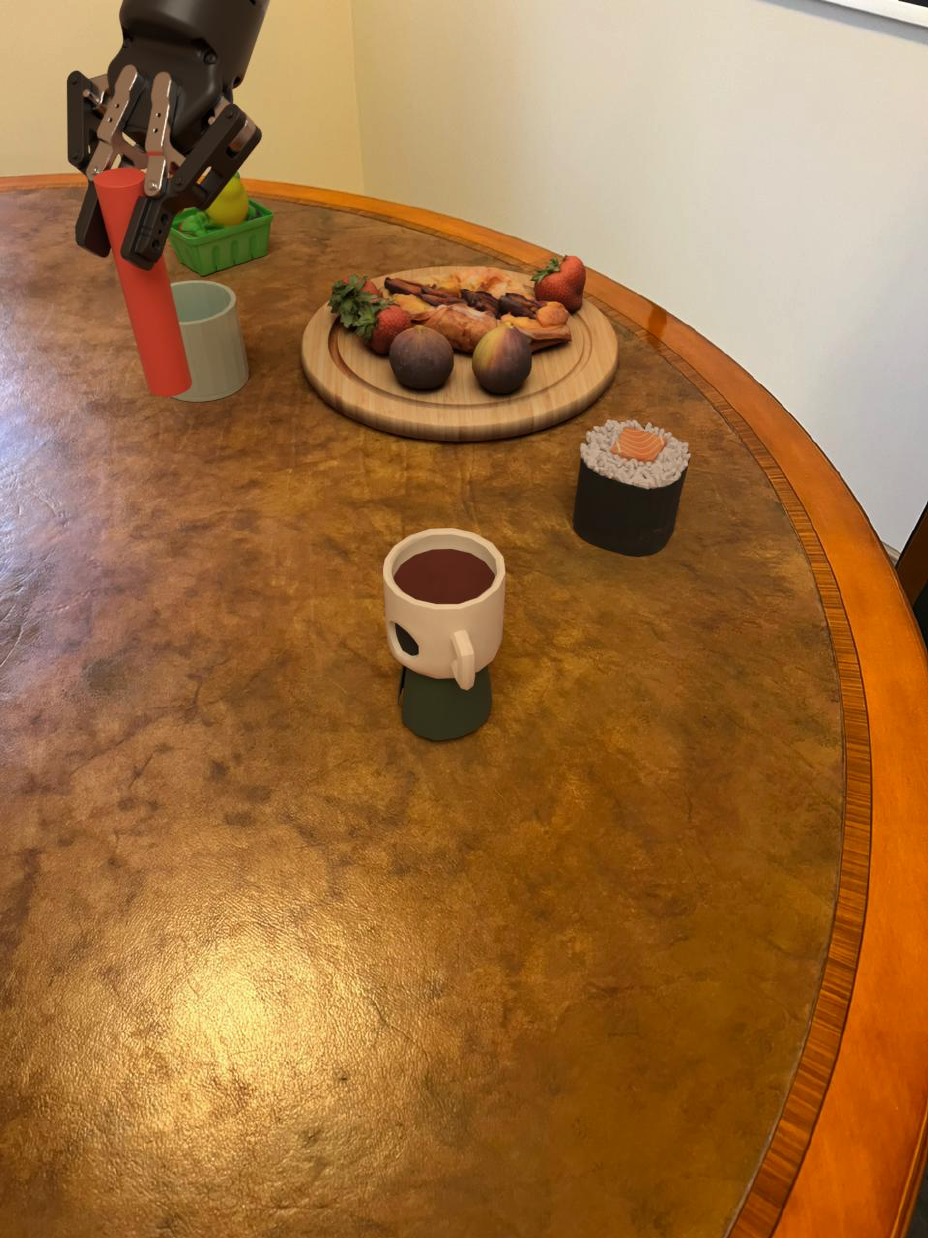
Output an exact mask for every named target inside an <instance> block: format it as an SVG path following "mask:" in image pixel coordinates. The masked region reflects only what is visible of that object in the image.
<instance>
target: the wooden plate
mask: <svg viewBox="0 0 928 1238" xmlns="http://www.w3.org/2000/svg"><path fill="white" fill-rule="evenodd" d="M549 261H551V262H550V263H549V262H546V261H544V264H545V265H546V266H545V268H543V269H541V270H540V269H535V268H533V271H535V272H537V273H536V274H534V275H530V274H527V273H522V272H518V271H513V270H507V269H502V268H500V267H494V266H489V267H487V266H485V265H477V266H469V265H468V266H467V265H466V266H464V265H447V266H445V265H443V266H431V267H430V266H429V267H421V268H420V267H419V268H412V269H406V270H401V271H397V272H391V273H388V274H385V275H381V276H377V277H374V278H371V279H369V278H370V275H364V276H363V277H360V276H359V275H357V274H355V273H353V274H351V275H348V276H345V277H343V278H342V279H340V280H339V281H338V280H335V283H334V284H333V286H331V287H330V288H331V295H330V297H328V300H327V301H326V302H325V303H323V305H322V306H321V307H319V309H318V310H316V312H315V313H314V314H313V315H312V317H311V318H310V319H309V320H308V323H307V325H306V327H305V328H304V330H303V332H302V335H301V339H300V345H299V356H300V363H301V366H302V370H303V372H304V375H305V377H306V379H307V381H308V382H309V384H310V386H311V387H312V388H313V389H314V391H315V392H316V393H317V394H318V396H319V397H320V398H322V399H323V400H324V401H325V402H326V403H327V404H328V405H329V406H331V407H332V408H334V409H335V410H336V411H338V412H340V413H341V414H343V415H344V416H346V417H349V418H350V419H353V420H355V421H356V422H359V423H361V424H364V425H366V426H368V427H371V428H373V429H376V430H378V431H382V432H383V431H384V432H386V433H390V434H394V435H397V436H403V437H407V438H408V437H409V438H412V439H413V438H414V439H420V440H430V441H436V442H438V441H439V442H458V443H459V442H481V441H482V442H483V441H485V442H486V441H492V440H493V441H494V440H499V439H508V438H513V437H514V438H515V437H518V436H522V435H527V434H532V433H535V432H538V431H541V430H544V429H547V428H550V427H553V426H556V425H558V424H560V423H562V422H566V421H567V420H569V419H571V418H573V417H575V416H577V415H579V414H580V413H583V411H585V410H586V409H587V408H589V407H590V406H591V405H593V403H595V402H596V401H597V400H598V399H599V398H600V397H601V396H602V395H603V394H604V393H605V391H606V390H607V389H608V388H609V386H610V385H611V384H612V381H613V380H614V378H615V376H616V374H617V371H618V368H619V363H620V355H621V354H620V344H619V340H618V337H617V333H616V331H615V329H614V327H613V326H612V325H611V322H610V321H609V319H608V318H607V317H606V316H605V315H604V313H602V311H600V310H599V308H598V307H597V306H596V305H594V304H593V303H592V302H591V301H589V300H587V299H586V298H584V297H583V296H584V290H585V286H586V281H587V270H586V267H585V264H584V262H583V261H582V260H581V258H579V257H578V256H577V255H567V254H564V255H563V257H562V259H561V261H559V259H558V258H557V255H555V257H554V258H549Z"/></svg>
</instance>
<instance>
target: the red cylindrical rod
mask: <svg viewBox="0 0 928 1238" xmlns="http://www.w3.org/2000/svg"><path fill="white" fill-rule="evenodd" d="M145 176H146V172H144V171H143V170H139V169H134V168H117V167H116V168H111V169H110V170H106V171H103V172H101V173H99V174H97V175H96V176H95V177H94V184H95V188H96V192H97V196H98V200H99V204H100V207H101V211H102V215H103V219H104V223H105V226H106V230H107V234H108V238H109V242H110V245H111V253H112V256H113V261H114V264H115V269H116V272H117V275H118V280H119V283H120V287H121V291H122V294H123V298H124V302H125V306H126V309H127V314H128V317H129V322H130V325H131V329H132V333H133V337H134V341H135V344H136V348H137V352H138V356H139V359H140V364H141V367H142V371H143V375H144V378H145V381H146V386H147V389H148V392H149V393H151V394H152V395H154V396H157V397H161V398H162V397H163V398H164V397H165V398H167V397H168V398H169V397H170V396H176V395H179V394H182V393H184V392H186V391H187V390H188V389H189V388H190V387H191V385H192V379H191V375H190V370H189V366H188V362H187V357H186V353H185V348H184V344H183V339H182V335H181V330H180V326H179V321H178V317H177V312H176V308H175V303H174V299H173V294H172V290H171V285H170V284H171V281H170V277H169V272H168V267H167V264H166V259H165V253H164V252H163V253H162V256H161V257H160V259H159V260H158V262H157V263H154V266H153V268H152V269H151V270H150V271H146V270H143V269H139V268H137V267H135V266H134V265H132V264H130V263H129V262H127V261H126V260H124V259H123V258H122V257H121V254H120V249H121V246H122V243H123V240H124V237H125V234H126V231H127V228H128V225H129V222H130V219H131V216H132V213H133V210H134V207H135V204H136V201H137V198H138V196H142V197H146V194H145V192H144V188H143V187H144V181H145ZM170 398H171V397H170Z"/></svg>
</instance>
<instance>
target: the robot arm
mask: <svg viewBox="0 0 928 1238" xmlns="http://www.w3.org/2000/svg"><path fill="white" fill-rule="evenodd" d="M270 3H271V0H122V2H121V5H120V8H119V12H118V20H119V24H120V28H121V33H122V44H121V47H120V48H119V50H118V52H117V54H116V55H115V56H114V58H113V59H112V60H111V61H110V62H109V64H108V67H107V69H106V73H104V74H99V75H97V76H93V77H90V78H88V76H86V75H85V74H84V73H82V72H81V71H80V70H73V71H71V72H70V74H69V75H68V76H67V79H66V134H67V136H66V138H67V139H66V140H67V141H66V142H67V143H66V146H67V147H66V148H67V149H66V150H67V152H66V153H67V162H68V163H69V164H70V166H71V165H72V166H73V167H74V168H75V169H77V170H78V171H79V172H81V174H83V175H84V176H85V177H86V179H87V182H88V183H87V189H86V192H85V195H84V198H83V201H82V204H81V207H80V211H79V213H78V217H77V219H76V223H75V226H74V227H75V229H74V234H75V243H76V245H77V246H78V247H79V248H82V249H83V250H85V251H87V252H88V253H90V254H91V255H93V256H96V257H100V258H103V259H105V258H107V257H108V256H109V255H110V253H111V251H112V249H111V245H110V242H109V238H108V234H107V230H106V226H105V223H104V219H103V215H102V211H101V207H100V204H99V200H98V196H97V192H96V188H95V184H94V177H95V176H96V175H97V174H99V173H101V172H103V171H106V170H110V169H113V165H114V164H115V161H116V159H117V157H118V155H119V156H120V161H119V163H118V166H117V167H116V168H134V169H139V170H141V171H143V170H146V171H145V174H146V176H145V181H144V187H143V188H144V192H145V194H146V197H142V196H138V198H137V201H136V204H135V207H134V210H133V213H132V216H131V219H130V222H129V225H128V228H127V231H126V234H125V237H124V240H123V243H122V246H121V249H120V254H121V257H122V258H123V259H124V260H126V261H127V262H129V263H130V264H132V265H134V266H135V267H137V268H139V269H143V270H146V271H150V270H151V269H152V268H153V266H154V263H157V262H158V260H159V259H160V257H161V256H162V253H163V254H164V250H165V246H166V244H167V240H168V235H169V232H170V229H171V226H172V223H173V220H174V218H175V216H176V215H178V214H180V213H182V212H183V211H184V210H187V209H190V208H193V207H195V208H197V209H198V210H200V211H205V210H207V209H208V208H209V207H210V206H211V204H212V203H213V202H214V201H215V199H216V198H217V197H218V195H219V194H220V193H221V192H222V190H223V189H224V188H225V186H226V185H227V184H228V182H229V181H230V180H231V179H232V177H233V176H234V175H235V173H236V172H237V171H238V172H239V170H240V169H241V167H242V166H243V164H244V163H245V162H246V160H247V159H248V158H249V157H250V156H251V154H252V153H253V152H254V150H255V149H256V148H257V146H259V143H260V142H261V141H262V138H263V132H262V130H261V128H260V127H258V126H257V124H256V123H255V121H254V120H253V119H252V118H251V117H250V116H249V115H248V114H247V113H246V112H245V111H243V110H242V109H241V108H240V107H239V106H238V105H237V104H236V103H234V90H235V89H237V88H238V87H240V86H241V85H242V83H243V81H244V80H245V76H246V74H247V70H248V68H249V65H250V62H251V59H252V57H253V53H254V50H255V47H256V44H257V41H258V38H259V35H260V32H261V29H262V26H263V23H264V21H265V18H266V14H267V11H268V9H269V6H270ZM123 134H124V135H125V136H127V137H128V138H129V139H130V140H131V141H133V142H134V143H135V144H134V145H132V144H131V143H130V142H128V141H127V140H126V139H125V138H124V136H123ZM209 168H210V169H209ZM207 169H209V170H208V172H207V174H206V175H205V176H204V175H203V174H204V173H205V172H206V171H207ZM202 176H204V177H203V179H202V180H201V181H200V179H201V178H202ZM198 181H200V182H199V183H198Z"/></svg>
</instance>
